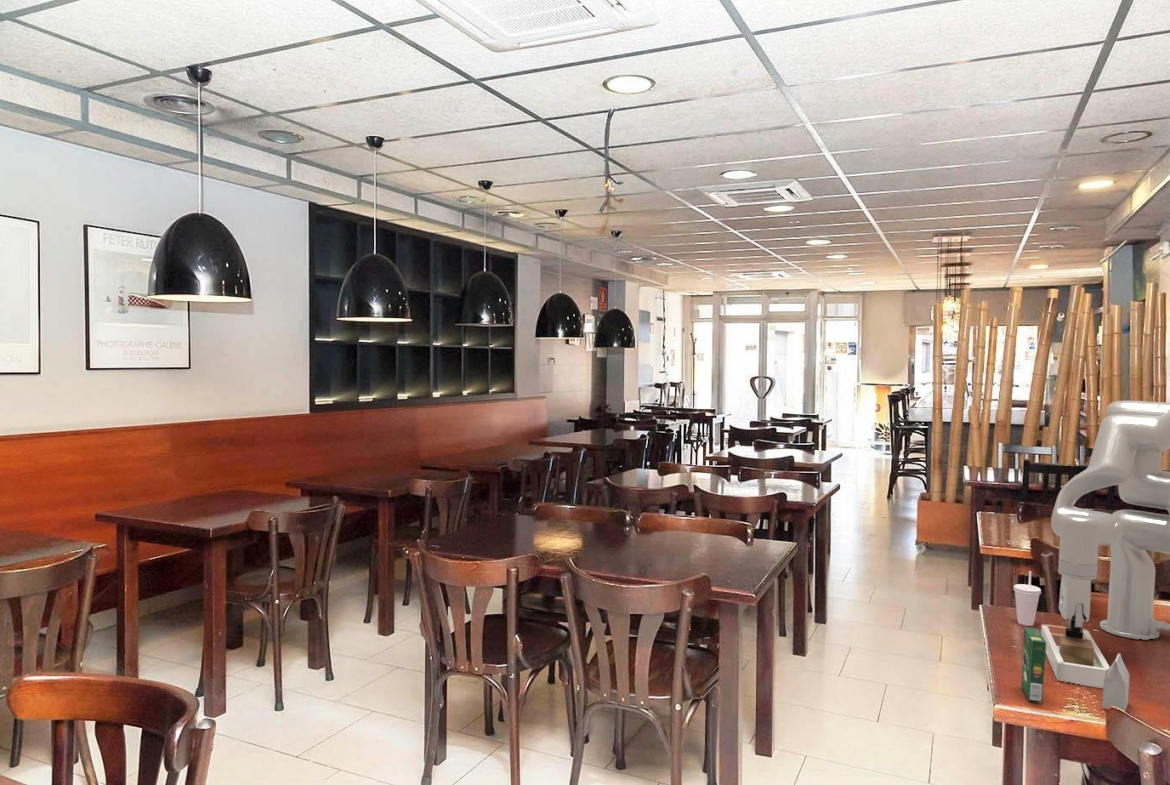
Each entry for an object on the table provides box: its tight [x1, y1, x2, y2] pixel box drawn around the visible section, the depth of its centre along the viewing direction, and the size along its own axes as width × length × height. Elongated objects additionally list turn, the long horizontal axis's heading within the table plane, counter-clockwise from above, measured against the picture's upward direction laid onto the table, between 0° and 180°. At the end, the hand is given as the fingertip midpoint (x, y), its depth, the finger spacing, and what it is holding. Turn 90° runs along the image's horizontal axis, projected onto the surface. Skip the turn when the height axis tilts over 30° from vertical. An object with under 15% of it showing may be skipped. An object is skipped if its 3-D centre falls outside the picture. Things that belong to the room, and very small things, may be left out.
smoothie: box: [1013, 570, 1042, 627], centre depth 208 cm, size 6×6×14 cm
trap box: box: [1040, 623, 1111, 689], centre depth 182 cm, size 10×28×4 cm, turn 157°
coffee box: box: [1020, 626, 1047, 703], centre depth 163 cm, size 8×3×13 cm, turn 160°
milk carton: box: [1101, 653, 1130, 712], centre depth 159 cm, size 4×7×10 cm, turn 140°
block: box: [1059, 636, 1094, 666], centre depth 177 cm, size 6×6×4 cm
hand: (1073, 647), depth 182 cm, fingers closed
